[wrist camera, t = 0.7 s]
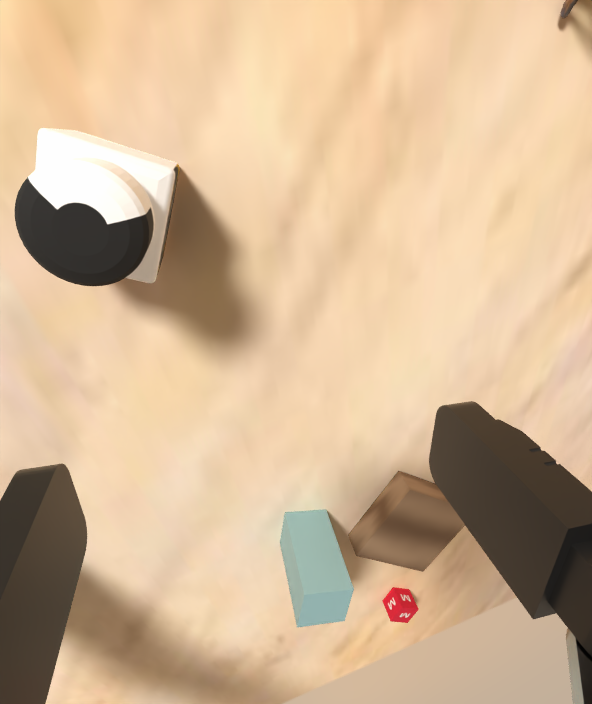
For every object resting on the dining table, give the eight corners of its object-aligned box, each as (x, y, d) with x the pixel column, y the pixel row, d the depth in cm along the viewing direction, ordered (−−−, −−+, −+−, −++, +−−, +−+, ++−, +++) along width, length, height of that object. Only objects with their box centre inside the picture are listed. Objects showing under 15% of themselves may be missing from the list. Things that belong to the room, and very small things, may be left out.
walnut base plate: (412, 551, 56) (423, 571, 54) (348, 534, 52) (356, 555, 50) (463, 493, 53) (476, 512, 51) (398, 470, 49) (410, 489, 46)
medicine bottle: (162, 258, 33) (146, 314, 22) (62, 233, 31) (-9, 282, 20) (180, 163, 30) (171, 176, 20) (72, 128, 28) (-4, 121, 17)
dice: (382, 600, 60) (390, 621, 58) (392, 586, 59) (401, 607, 57) (398, 602, 61) (407, 622, 59) (409, 588, 61) (418, 609, 58)
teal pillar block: (319, 539, 52) (344, 620, 43) (279, 542, 50) (297, 627, 42) (326, 509, 49) (353, 589, 41) (285, 512, 48) (304, 594, 39)
